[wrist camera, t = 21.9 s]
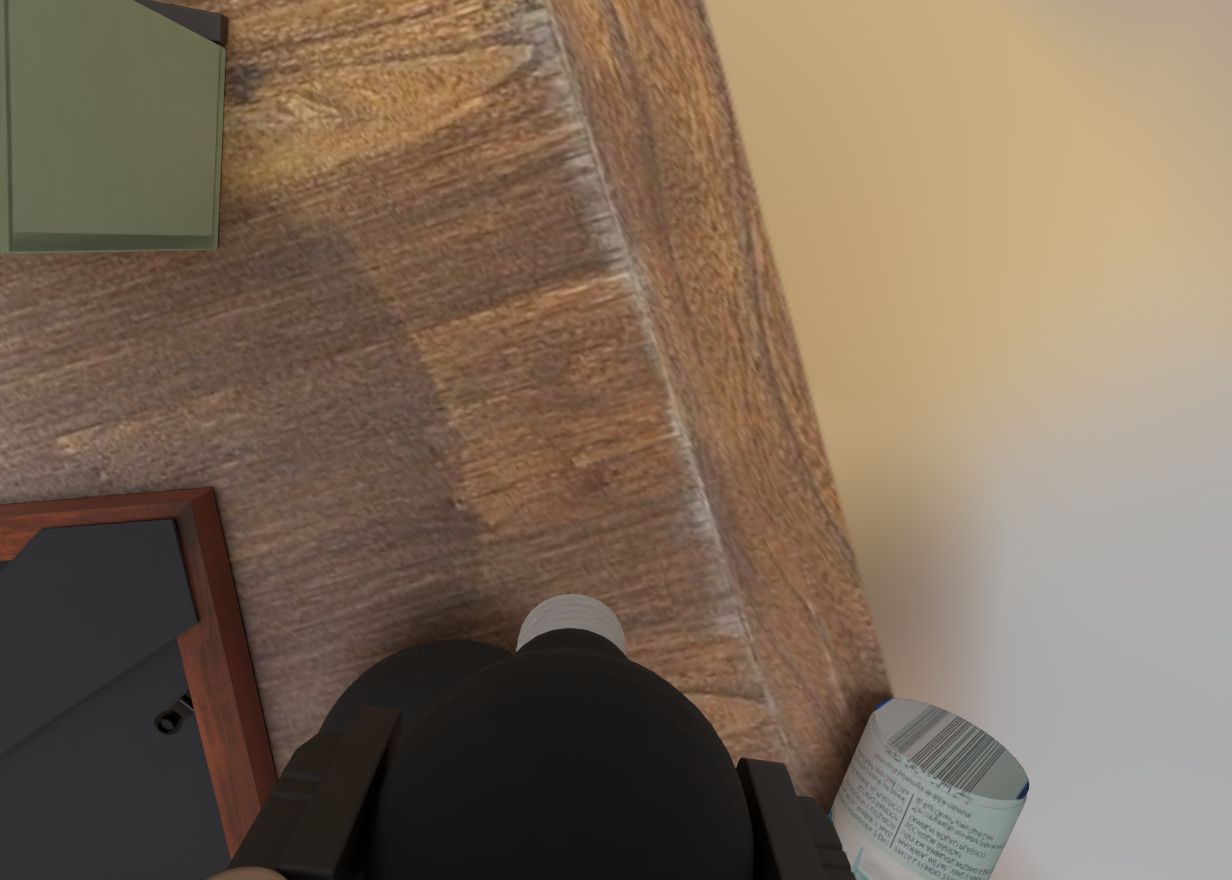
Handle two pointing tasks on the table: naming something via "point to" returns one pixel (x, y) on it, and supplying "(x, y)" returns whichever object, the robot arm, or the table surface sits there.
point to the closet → (110, 126)
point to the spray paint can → (926, 797)
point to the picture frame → (124, 692)
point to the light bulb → (561, 771)
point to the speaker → (412, 680)
